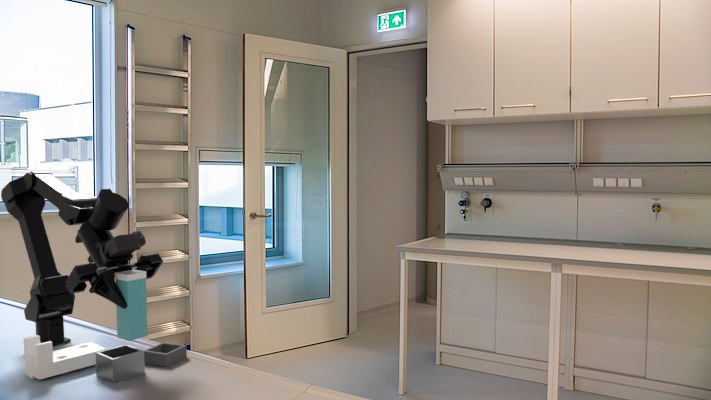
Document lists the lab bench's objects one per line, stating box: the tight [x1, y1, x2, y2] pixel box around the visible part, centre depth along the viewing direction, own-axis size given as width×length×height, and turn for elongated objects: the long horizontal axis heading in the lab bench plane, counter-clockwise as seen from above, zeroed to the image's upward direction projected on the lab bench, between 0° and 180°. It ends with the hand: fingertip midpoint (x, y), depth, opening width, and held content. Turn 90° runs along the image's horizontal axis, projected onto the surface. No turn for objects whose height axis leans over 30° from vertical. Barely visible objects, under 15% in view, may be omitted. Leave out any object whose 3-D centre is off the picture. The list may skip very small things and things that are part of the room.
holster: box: [144, 341, 188, 368], centre depth 119 cm, size 6×6×2 cm
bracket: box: [23, 334, 107, 380], centre depth 114 cm, size 13×7×8 cm, turn 139°
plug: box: [114, 270, 148, 342], centre depth 112 cm, size 4×4×13 cm
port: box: [95, 344, 146, 384], centre depth 111 cm, size 6×6×4 cm
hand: (135, 305), depth 112 cm, fingers closed on plug, 4 cm apart
